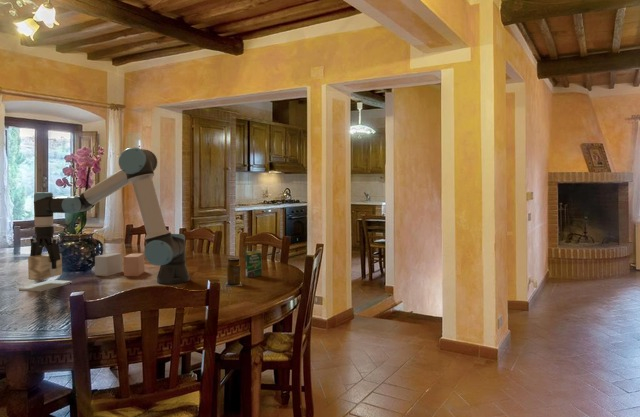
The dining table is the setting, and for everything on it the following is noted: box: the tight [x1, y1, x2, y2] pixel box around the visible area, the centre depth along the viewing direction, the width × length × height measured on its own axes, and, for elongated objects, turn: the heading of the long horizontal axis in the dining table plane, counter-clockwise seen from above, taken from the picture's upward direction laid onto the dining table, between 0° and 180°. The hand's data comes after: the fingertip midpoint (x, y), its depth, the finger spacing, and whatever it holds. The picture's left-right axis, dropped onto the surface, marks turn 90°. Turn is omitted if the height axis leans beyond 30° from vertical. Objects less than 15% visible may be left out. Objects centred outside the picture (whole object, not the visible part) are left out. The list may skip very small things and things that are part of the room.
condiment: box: [225, 257, 243, 287], centre depth 217 cm, size 7×8×12 cm
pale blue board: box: [18, 279, 73, 292], centre depth 214 cm, size 12×18×1 cm, turn 167°
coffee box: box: [244, 249, 263, 278], centre depth 236 cm, size 8×3×13 cm, turn 118°
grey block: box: [94, 252, 123, 277], centre depth 245 cm, size 7×12×10 cm, turn 167°
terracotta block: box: [123, 253, 146, 277], centre depth 244 cm, size 7×12×10 cm, turn 6°
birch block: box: [27, 252, 63, 280], centre depth 214 cm, size 7×12×10 cm, turn 167°
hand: (45, 275), depth 214 cm, fingers closed on birch block, 7 cm apart
